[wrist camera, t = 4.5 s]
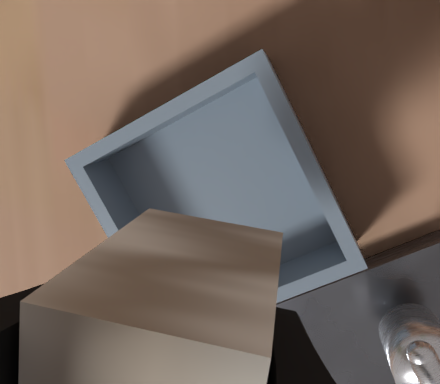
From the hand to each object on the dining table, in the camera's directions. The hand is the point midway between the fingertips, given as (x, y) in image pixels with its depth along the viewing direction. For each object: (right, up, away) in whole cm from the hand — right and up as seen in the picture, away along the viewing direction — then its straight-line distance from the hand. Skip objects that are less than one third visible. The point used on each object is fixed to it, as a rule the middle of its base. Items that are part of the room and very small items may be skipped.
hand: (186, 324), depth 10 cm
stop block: (0, +1, +2) cm, 2 cm away
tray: (+1, +3, +9) cm, 10 cm away
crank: (+10, -5, +8) cm, 14 cm away
